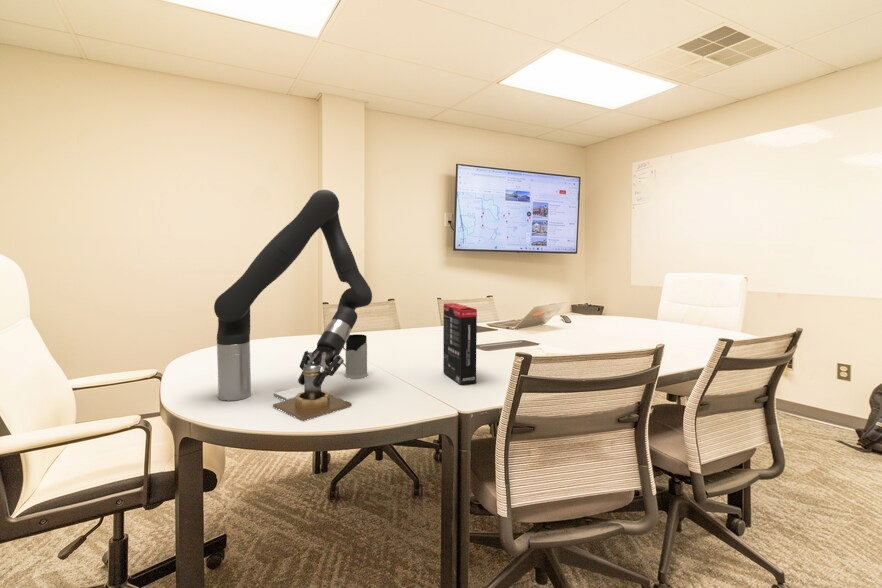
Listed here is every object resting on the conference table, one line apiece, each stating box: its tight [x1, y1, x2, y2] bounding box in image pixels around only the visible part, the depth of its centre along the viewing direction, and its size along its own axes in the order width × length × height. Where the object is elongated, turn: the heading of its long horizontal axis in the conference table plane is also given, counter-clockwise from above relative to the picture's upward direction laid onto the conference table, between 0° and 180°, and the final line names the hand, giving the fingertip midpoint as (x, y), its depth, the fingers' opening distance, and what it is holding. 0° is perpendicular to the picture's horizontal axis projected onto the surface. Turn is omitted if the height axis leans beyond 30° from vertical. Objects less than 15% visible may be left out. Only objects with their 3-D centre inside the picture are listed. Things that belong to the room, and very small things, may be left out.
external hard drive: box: [273, 385, 304, 401], centre depth 138 cm, size 2×8×12 cm
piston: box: [302, 362, 322, 399], centre depth 126 cm, size 5×5×10 cm
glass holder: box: [337, 333, 369, 380], centre depth 161 cm, size 9×14×15 cm, turn 71°
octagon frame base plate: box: [272, 389, 353, 422], centre depth 127 cm, size 16×16×4 cm
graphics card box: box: [442, 302, 478, 386], centre depth 158 cm, size 17×7×27 cm, turn 22°
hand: (308, 384), depth 125 cm, fingers closed on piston, 5 cm apart
